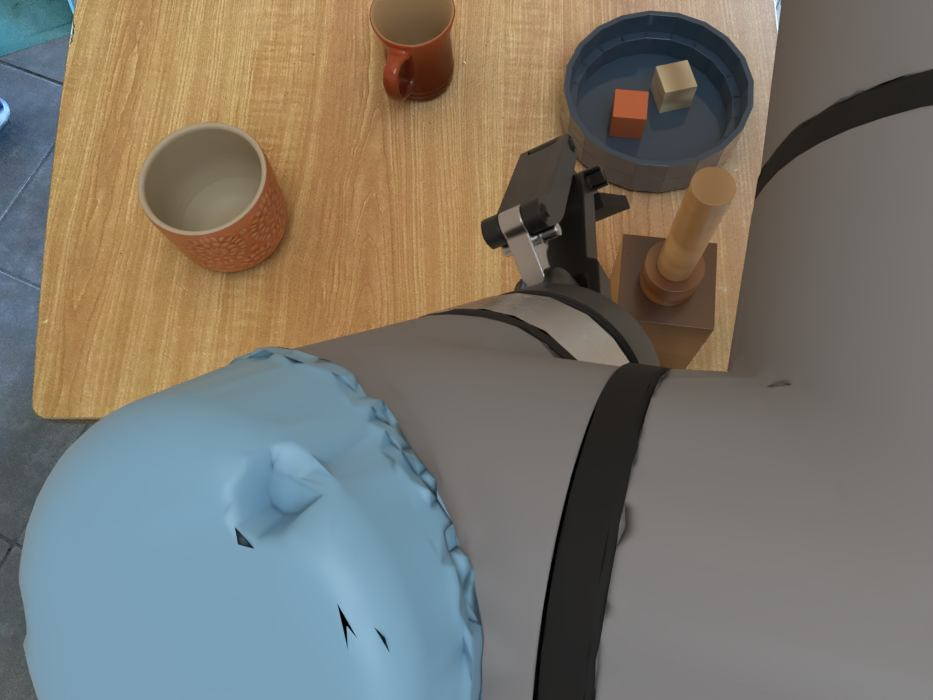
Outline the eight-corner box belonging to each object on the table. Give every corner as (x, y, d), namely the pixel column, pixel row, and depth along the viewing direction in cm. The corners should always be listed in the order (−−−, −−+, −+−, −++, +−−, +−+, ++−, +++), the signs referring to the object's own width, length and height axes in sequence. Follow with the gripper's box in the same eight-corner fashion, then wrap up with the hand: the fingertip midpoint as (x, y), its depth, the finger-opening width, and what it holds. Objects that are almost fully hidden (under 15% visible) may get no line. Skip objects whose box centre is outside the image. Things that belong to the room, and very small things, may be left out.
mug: (399, 39, 89) (387, -31, 79) (471, 57, 88) (466, -12, 78) (362, 123, 86) (344, 60, 76) (435, 143, 84) (427, 81, 75)
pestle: (697, 257, 65) (751, 158, 51) (695, 309, 64) (750, 221, 49) (640, 251, 66) (678, 151, 51) (637, 303, 64) (674, 214, 50)
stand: (686, 298, 77) (717, 243, 66) (682, 373, 74) (714, 329, 63) (605, 289, 78) (623, 233, 66) (599, 363, 75) (616, 318, 64)
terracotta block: (643, 112, 84) (648, 91, 80) (641, 139, 82) (646, 119, 79) (610, 109, 84) (615, 88, 81) (608, 136, 83) (612, 116, 79)
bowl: (740, 54, 86) (755, 18, 81) (735, 203, 80) (751, 174, 75) (569, 40, 88) (573, 4, 83) (552, 185, 82) (555, 156, 77)
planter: (172, 282, 80) (122, 233, 70) (194, 179, 84) (150, 118, 74) (288, 288, 79) (256, 239, 69) (305, 183, 83) (276, 122, 73)
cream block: (680, 81, 85) (687, 59, 81) (690, 107, 84) (697, 86, 80) (649, 87, 85) (655, 66, 81) (658, 113, 83) (665, 92, 80)
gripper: (299, 88, 25) (513, 143, 45) (551, 786, 26) (655, 543, 45) (496, -26, 22) (635, 86, 42) (779, 771, 23) (786, 516, 42)
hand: (645, 324), depth 43 cm, fingers open, 13 cm apart
